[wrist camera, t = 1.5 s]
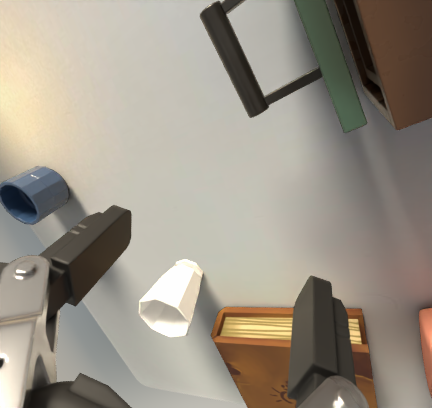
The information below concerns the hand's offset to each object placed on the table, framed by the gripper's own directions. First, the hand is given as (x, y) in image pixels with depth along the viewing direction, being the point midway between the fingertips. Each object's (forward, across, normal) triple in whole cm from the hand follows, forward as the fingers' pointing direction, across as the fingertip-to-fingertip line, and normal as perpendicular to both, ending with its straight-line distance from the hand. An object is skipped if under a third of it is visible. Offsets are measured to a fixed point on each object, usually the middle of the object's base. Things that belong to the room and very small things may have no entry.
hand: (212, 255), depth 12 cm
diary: (+18, -15, +32) cm, 39 cm away
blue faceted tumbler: (+18, +26, +15) cm, 35 cm away
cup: (+18, +6, +23) cm, 30 cm away
